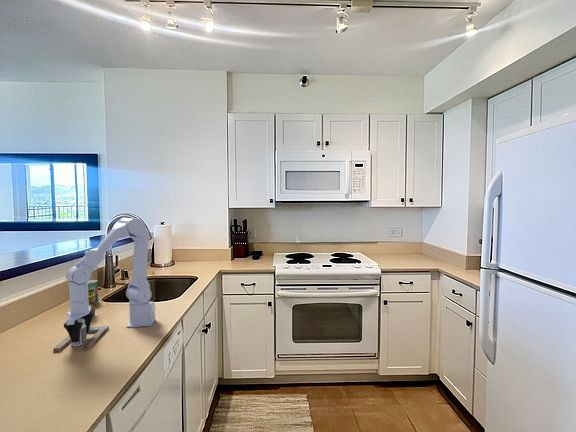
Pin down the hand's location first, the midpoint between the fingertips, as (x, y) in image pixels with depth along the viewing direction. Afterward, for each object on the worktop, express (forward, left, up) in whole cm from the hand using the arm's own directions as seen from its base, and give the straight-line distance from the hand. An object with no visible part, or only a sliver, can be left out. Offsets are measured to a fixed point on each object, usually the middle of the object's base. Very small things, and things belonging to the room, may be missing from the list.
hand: (80, 337), depth 118 cm
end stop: (0, -10, -2) cm, 10 cm away
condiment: (+10, -28, -2) cm, 30 cm away
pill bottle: (0, +1, -2) cm, 2 cm away
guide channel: (0, -1, -2) cm, 2 cm away
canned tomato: (+16, -47, -2) cm, 50 cm away
